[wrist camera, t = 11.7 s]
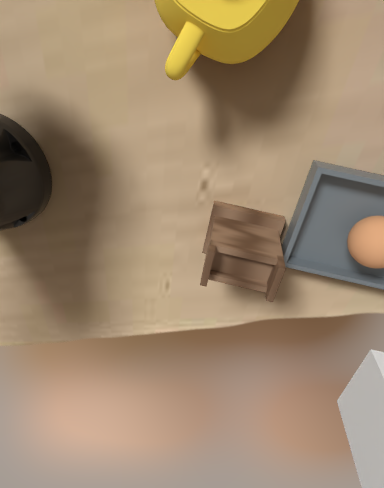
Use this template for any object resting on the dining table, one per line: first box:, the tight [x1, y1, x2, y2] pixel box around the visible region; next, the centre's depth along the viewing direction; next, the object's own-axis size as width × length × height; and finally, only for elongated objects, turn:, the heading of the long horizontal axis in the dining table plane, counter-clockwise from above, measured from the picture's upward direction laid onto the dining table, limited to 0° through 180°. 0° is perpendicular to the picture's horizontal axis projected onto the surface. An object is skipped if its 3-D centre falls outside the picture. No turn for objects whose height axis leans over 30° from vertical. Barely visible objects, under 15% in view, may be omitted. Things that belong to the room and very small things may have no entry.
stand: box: [200, 201, 286, 302], centre depth 39 cm, size 9×7×10 cm
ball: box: [347, 216, 384, 268], centre depth 38 cm, size 6×6×6 cm
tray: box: [282, 160, 384, 290], centre depth 40 cm, size 18×13×3 cm
